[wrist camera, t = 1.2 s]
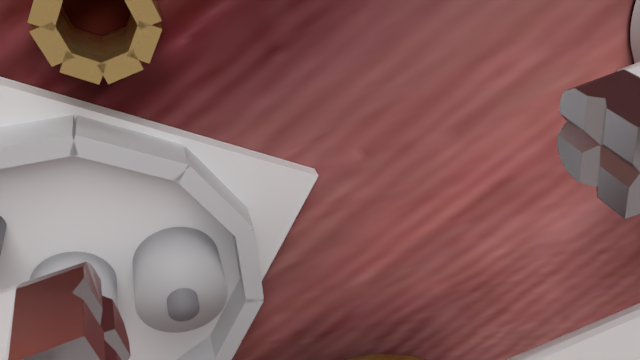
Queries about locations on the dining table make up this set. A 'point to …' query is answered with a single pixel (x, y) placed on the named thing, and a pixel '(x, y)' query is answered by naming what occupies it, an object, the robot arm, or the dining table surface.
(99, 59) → the wooden octagonal ring
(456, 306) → the dining table surface
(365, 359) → the bowl
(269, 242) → the carrier board
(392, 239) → the dining table surface
